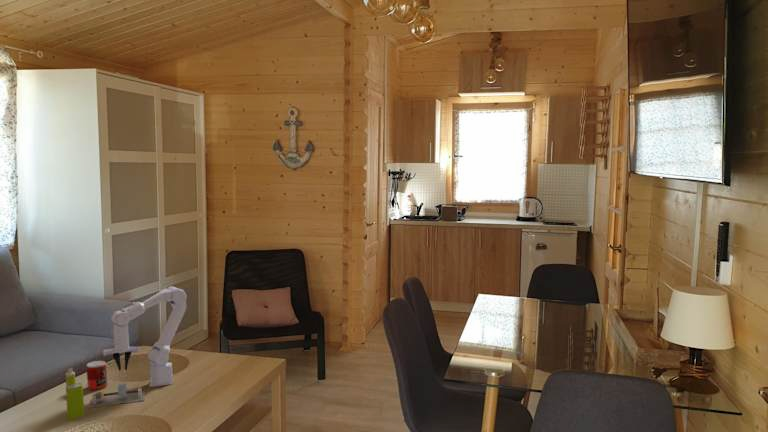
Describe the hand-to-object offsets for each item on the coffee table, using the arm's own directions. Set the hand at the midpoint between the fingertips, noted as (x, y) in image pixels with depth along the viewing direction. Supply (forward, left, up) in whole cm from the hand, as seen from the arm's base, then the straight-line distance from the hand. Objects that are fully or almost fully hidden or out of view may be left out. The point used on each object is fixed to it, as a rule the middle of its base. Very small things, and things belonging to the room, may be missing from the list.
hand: (123, 369), depth 250 cm
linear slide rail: (+2, +8, -10) cm, 13 cm away
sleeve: (0, +8, -9) cm, 12 cm away
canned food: (+12, -11, -11) cm, 19 cm away
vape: (+16, +20, -11) cm, 28 cm away
